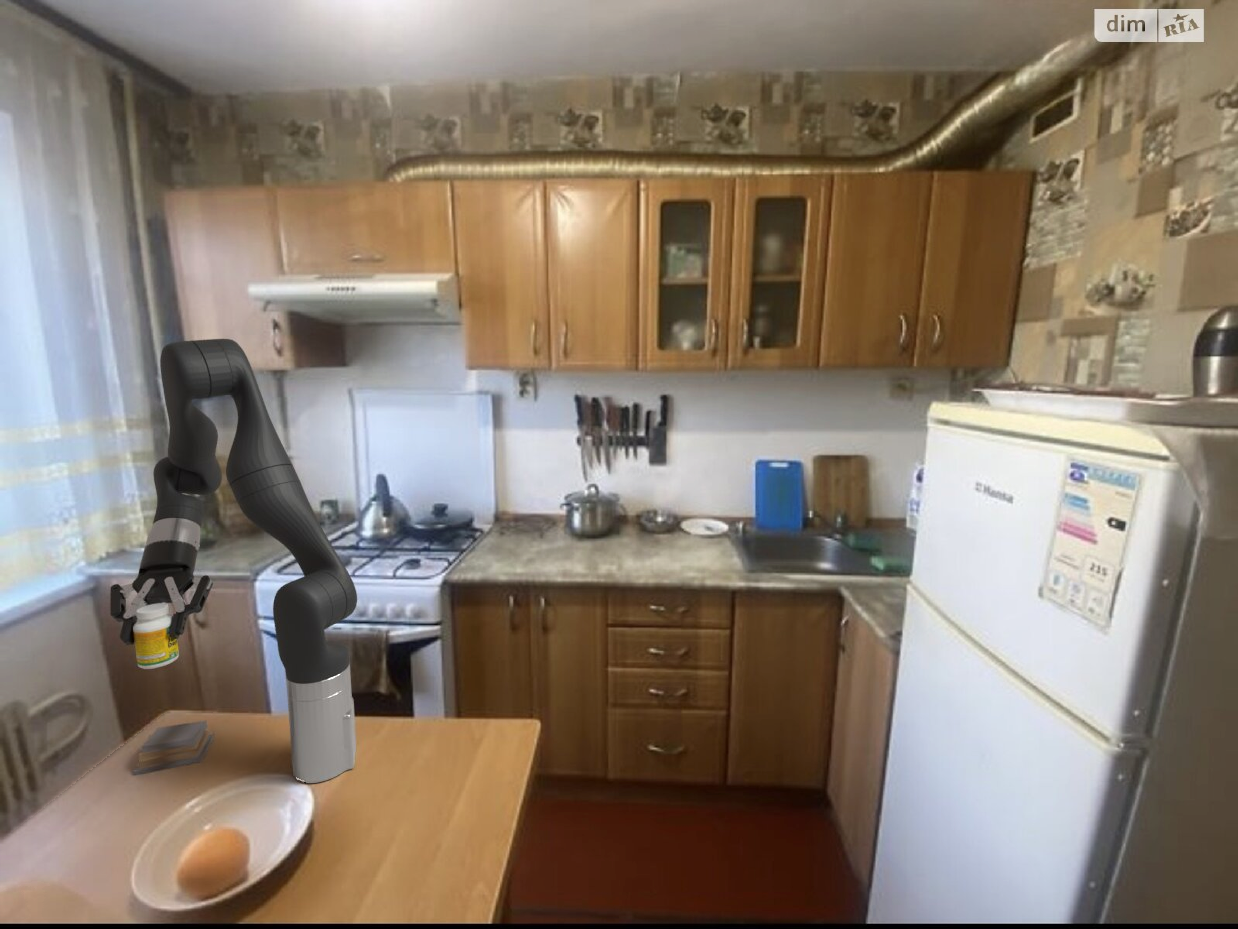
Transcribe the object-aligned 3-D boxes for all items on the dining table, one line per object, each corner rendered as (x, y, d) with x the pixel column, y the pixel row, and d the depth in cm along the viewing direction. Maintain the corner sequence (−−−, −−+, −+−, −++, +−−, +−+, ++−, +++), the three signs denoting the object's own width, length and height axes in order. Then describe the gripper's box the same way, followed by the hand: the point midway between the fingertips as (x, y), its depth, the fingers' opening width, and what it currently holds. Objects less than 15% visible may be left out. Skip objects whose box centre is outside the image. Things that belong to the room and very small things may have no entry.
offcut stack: (214, 737, 97) (211, 715, 96) (201, 761, 91) (198, 738, 90) (151, 749, 94) (149, 727, 93) (134, 775, 87) (131, 751, 87)
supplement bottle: (142, 658, 91) (136, 604, 89) (182, 651, 93) (176, 598, 92) (133, 673, 86) (126, 616, 85) (175, 665, 89) (169, 610, 87)
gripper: (112, 542, 91) (83, 639, 82) (214, 535, 96) (198, 624, 87) (129, 563, 97) (104, 656, 87) (225, 555, 102) (211, 641, 93)
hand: (151, 639), depth 87 cm, fingers closed on supplement bottle, 5 cm apart
